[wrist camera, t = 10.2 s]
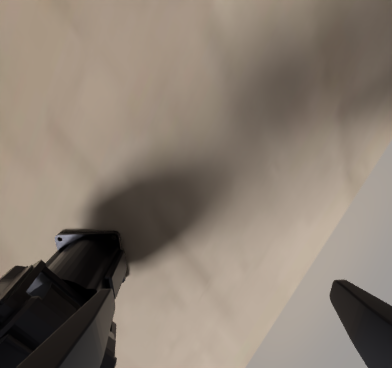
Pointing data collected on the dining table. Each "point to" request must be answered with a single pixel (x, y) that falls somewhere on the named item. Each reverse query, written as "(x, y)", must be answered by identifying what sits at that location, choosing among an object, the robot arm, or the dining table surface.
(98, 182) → the dining table surface
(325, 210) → the dining table surface
